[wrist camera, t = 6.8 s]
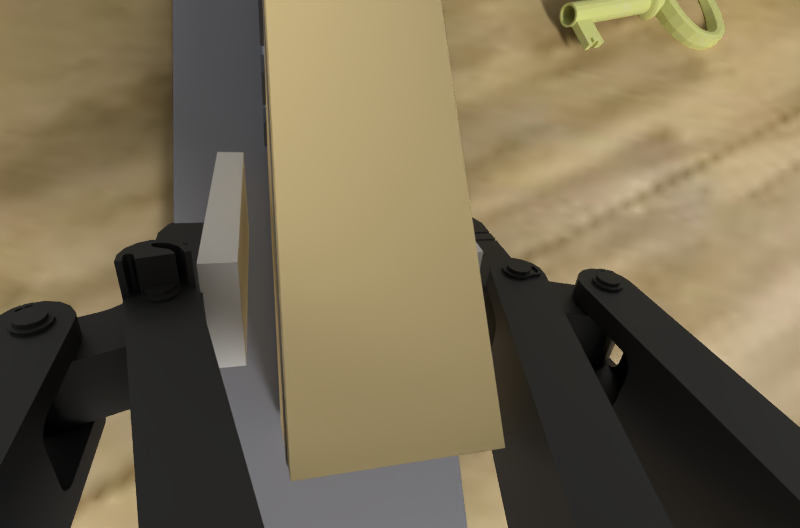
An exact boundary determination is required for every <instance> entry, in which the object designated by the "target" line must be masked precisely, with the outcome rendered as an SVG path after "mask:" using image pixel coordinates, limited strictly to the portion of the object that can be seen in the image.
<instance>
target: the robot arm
mask: <svg viewBox="0 0 800 528" xmlns="http://www.w3.org/2000/svg"><path fill="white" fill-rule="evenodd" d="M472 220H473V227H474V234H475V241H476V248H477V255H478V262H479V269H480V276H481V283H482V290H483V297H484V303H485V310H486V317H487V324H488V331H489V338H490V345H491V352H492V359H493V366H494V373H495V380H496V387H497V394H498V401H499V408H500V415H501V422H502V429H503V436H504V442H505V448H502V449H495V450H492V453H493V458H494V463H495V468H496V472H497V477H498V482H499V487H500V491H501V496H502V501H503V505H504V510H505V515H506V520H507V524H508V528H800V427H799V426H798V425H796V424H795V423H794V422H793V421H792V420H791V419H789V418H788V417H787V416H786V415H785V414H784V413H782V412H781V411H780V410H779V409H778V408H777V407H775V406H774V405H773V404H772V403H771V402H770V401H768V400H767V399H766V398H765V397H764V396H763V395H762V394H760V393H759V392H758V391H757V390H756V389H755V388H753V387H752V386H751V385H750V384H749V383H748V382H746V381H745V380H744V379H743V378H742V377H741V376H739V375H738V374H737V373H736V372H735V371H734V370H732V369H731V368H730V367H729V366H728V365H727V364H725V363H724V362H723V361H722V360H721V359H720V358H718V357H717V356H716V355H715V354H714V353H713V352H711V351H710V350H709V349H708V348H707V347H706V346H704V345H703V344H702V343H701V342H700V341H699V340H697V339H696V338H695V337H694V336H693V335H692V334H691V333H689V332H688V331H687V330H686V329H685V328H684V327H682V326H681V325H680V324H679V323H678V322H677V321H675V320H674V319H673V318H672V317H671V316H670V315H668V314H667V313H666V312H665V311H664V310H663V309H661V308H660V307H659V306H658V305H657V304H656V303H654V302H653V301H652V300H651V299H650V298H649V297H647V296H646V295H645V294H644V293H643V292H642V291H640V290H639V289H638V288H637V287H636V286H635V285H633V284H632V283H631V282H630V281H628V280H627V279H625V278H624V277H622V276H620V275H618V274H616V273H614V272H613V271H609V270H607V271H606V270H605V269H587V270H583V271H582V272H580V273H579V274H578V277H577V280H576V283H575V285H571V284H564V283H556V282H550V281H548V279H547V277H546V275H545V273H544V272H543V271H542V270H541V269H540V268H539V267H537V266H536V265H534V264H532V263H530V262H527V261H524V260H521V259H515V258H511V257H510V256H509V255H508V254H507V252H506V251H505V250H504V249H503V248H502V247H501V245H500V244H499V243H498V242H497V241H495V238H494V237H493V236H492V235H491V234H490V233H489V231H488V230H487V229H486V228H485V226H484V225H483V224H482V223H481V222H479V221H477V220H476V219H474V218H472ZM248 256H249V224H248V210H247V195H246V181H245V166H244V152H217V157H216V162H215V167H214V173H213V178H212V183H211V189H210V194H209V199H208V205H207V210H206V215H205V221H204V223H170V224H169V225H167V226H166V227H165V228H164V229H162V230H161V231H160V232H159V233H158V235H157V238H156V240H149V241H145V242H140V243H136V244H134V245H131V246H129V247H127V248H125V249H123V250H122V251H121V252H119V253H118V254H117V255H116V258H115V260H114V264H115V268H116V273H117V277H118V281H119V285H120V290H121V294H122V298H123V304H121V305H119V306H116V307H114V308H112V309H109V310H105V311H102V312H98V313H94V314H90V315H86V316H81V317H77V315H76V312H75V311H74V310H73V308H72V307H71V306H70V305H67V304H64V303H62V302H53V301H43V302H36V303H28V304H24V305H22V306H18V307H15V308H13V309H11V310H9V311H7V312H5V313H3V314H1V315H0V528H71V525H72V522H73V519H74V516H75V513H76V510H77V507H78V504H79V501H80V498H81V495H82V492H83V489H84V486H85V483H86V480H87V477H88V474H89V471H90V468H91V465H92V462H93V458H94V455H95V452H96V449H97V446H98V443H99V440H100V437H101V434H102V431H103V428H104V425H105V422H106V417H107V416H110V415H113V414H116V413H119V412H122V411H125V410H128V409H130V410H131V425H132V439H133V453H134V467H135V482H136V496H137V510H138V524H139V528H264V524H263V521H262V517H261V514H260V510H259V506H258V503H257V499H256V496H255V492H254V489H253V485H252V482H251V478H250V475H249V471H248V468H247V464H246V461H245V457H244V453H243V450H242V446H241V443H240V439H239V436H238V432H237V429H236V425H235V422H234V418H233V415H232V411H231V408H230V404H229V400H228V397H227V393H226V390H225V386H224V383H223V379H222V376H221V372H220V369H219V368H225V367H236V366H246V359H247V307H248ZM615 344H616V345H617V346H618V347H619V348H620V349H621V350H622V351H623V355H622V358H621V360H620V362H619V364H618V365H616V364H615V363H614V362H613V361H612V360H611V359H610V358H609V357H610V355H611V352H612V350H613V348H614V345H615Z"/></svg>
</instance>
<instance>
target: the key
mask: <svg viewBox="0 0 800 528" xmlns="http://www.w3.org/2000/svg"><path fill="white" fill-rule="evenodd" d="M698 1H699V4H700V6H701V8H702V11H703V14H704V17H705V22H706V29H707V31H705V30H703V29H701V28H699V27H698V26H697V25H696V24H695V23H694V22H693V21H692V20H691V19H690V18H689V17H688V16H687V15H686V14H685V13H684V11H683V10H682V9H681V7H680V6H679V4H678V3H677V1H676V0H582V1H576V2H569V3H566V4H564V5H563V6H562V8H561V10H560V14H559V17H560V22H561V24H562V25H563V26H564V27H566V28H567V27H572V28H573V30H574V32H575V34H576V36H577V37H578V39H579V41H580V43H581V45H582V47H583V49H584V50H587V49H589V48H590V47H591V46H592V47H593V48H597V47H599V46H600V45H601V44H602V43H603V42H604V41H603V39H602V37H601V36H600V34H599V32H598V30H597V28H596V26H595V25H594V23H595V22H600V21H605V20H611V19H616V18H622V17H627V16H632V15H638V16H639V17H640V18H641V19H642V20H649V19H650V18H652V17H654V16H655V15H656V17H657V18H658V19H659V21H660V22H661V24H662V25H663V26H664V28H665V29H666V30H667V31H668V32H669V33H670V34H671V35H672V36H673V37H674V38H675V39H677V40H678V41H679V42H680V43H681V44H683V45H685V46H687V47H690V48H692V49H698V50H702V49H707V48H709V47H712V46H714V45H715V44H716V43H717V42H718V41H719V40H720V39H721V38H722V36H723V35H724V31H725V27H724V22H723V18H722V15H721V12H720V9H719V7H718V5H717V3H716V1H715V0H698Z"/></svg>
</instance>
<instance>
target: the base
mask: <svg viewBox="0 0 800 528" xmlns="http://www.w3.org/2000/svg"><path fill="white" fill-rule="evenodd" d="M260 55H263V54H262V46H260V33H259V11H258V0H173V193H174V223H204V221H205V215H206V210H207V205H208V199H209V194H210V189H211V183H212V178H213V173H214V167H215V162H216V157H217V152H244V166H245V181H246V195H247V210H248V224H249V256H248V307H247V359H246V366H236V367H225V368H219V369H220V372H221V376H222V379H223V383H224V386H225V390H226V393H227V397H228V400H229V404H230V408H231V411H232V415H233V418H234V422H235V425H236V429H237V432H238V436H239V439H240V443H241V446H242V450H243V453H244V457H245V461H246V464H247V468H248V471H249V475H250V478H251V482H252V485H253V489H254V492H255V496H256V499H257V503H258V506H259V510H260V514H261V517H262V521H263V524H264V528H467V522H466V514H465V506H464V498H463V490H462V482H461V473H460V465H459V457H458V455H457V456H451V457H444V458H438V459H431V460H425V461H419V462H412V463H406V464H400V465H393V466H387V467H380V468H374V469H368V470H361V471H355V472H348V473H342V474H336V475H329V476H323V477H316V478H310V479H304V480H297V481H290V475H289V469H288V466H286V459H285V445H284V439H283V433H282V427H281V418H280V397H279V377H278V357H277V337H276V316H275V296H274V276H273V256H272V235H271V215H270V195H269V175H268V152H267V146H264V125H263V108H265V105H263V101H262V79H261V56H260Z"/></svg>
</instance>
